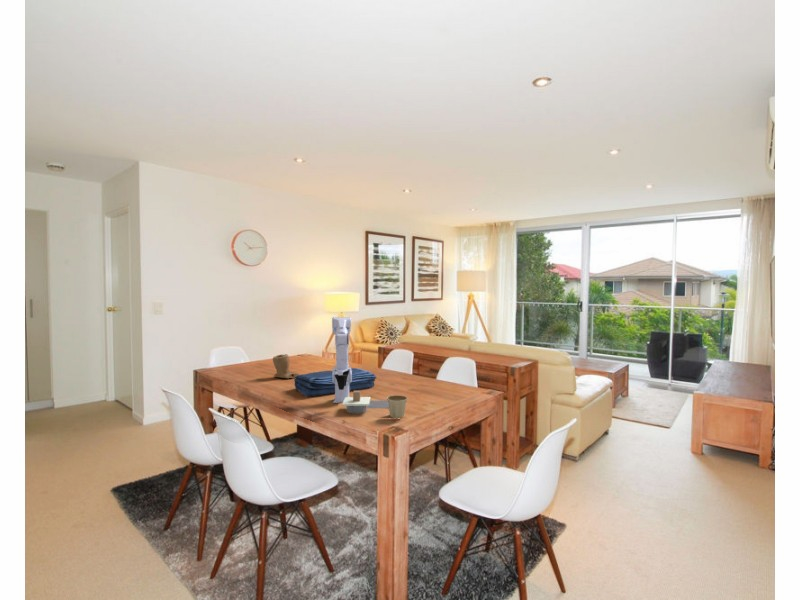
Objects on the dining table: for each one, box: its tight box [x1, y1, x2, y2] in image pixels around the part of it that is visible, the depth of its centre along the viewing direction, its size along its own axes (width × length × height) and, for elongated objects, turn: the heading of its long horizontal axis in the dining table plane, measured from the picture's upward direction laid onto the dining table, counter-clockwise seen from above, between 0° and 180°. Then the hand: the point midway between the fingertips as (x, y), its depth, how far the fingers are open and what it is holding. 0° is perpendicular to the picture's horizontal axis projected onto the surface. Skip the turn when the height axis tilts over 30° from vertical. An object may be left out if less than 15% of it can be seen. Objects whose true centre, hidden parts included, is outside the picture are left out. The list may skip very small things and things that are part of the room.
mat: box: [366, 400, 389, 409], centre depth 207 cm, size 13×13×1 cm
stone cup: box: [272, 353, 300, 379], centre depth 269 cm, size 15×12×15 cm
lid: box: [341, 390, 371, 407], centre depth 197 cm, size 12×12×5 cm
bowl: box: [346, 406, 367, 414], centre depth 197 cm, size 9×9×4 cm
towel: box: [293, 367, 377, 398], centre depth 242 cm, size 24×43×10 cm, turn 124°
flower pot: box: [386, 394, 408, 420], centre depth 189 cm, size 9×9×9 cm
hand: (342, 387), depth 200 cm, fingers open, 7 cm apart
